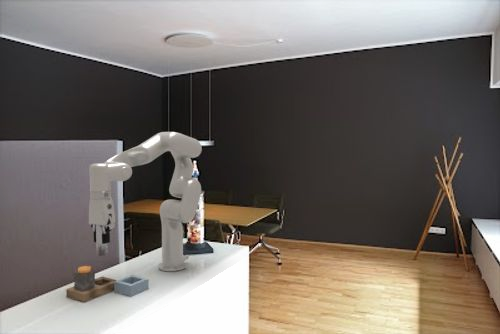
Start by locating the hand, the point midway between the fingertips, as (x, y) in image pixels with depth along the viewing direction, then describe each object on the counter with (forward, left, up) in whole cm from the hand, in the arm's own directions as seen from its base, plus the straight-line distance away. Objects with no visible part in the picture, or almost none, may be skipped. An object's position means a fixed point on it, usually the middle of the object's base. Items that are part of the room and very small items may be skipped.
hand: (101, 241), depth 148 cm
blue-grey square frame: (-5, +10, -19) cm, 22 cm away
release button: (+8, 0, -16) cm, 17 cm away
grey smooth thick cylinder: (0, 0, -5) cm, 5 cm away
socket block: (+4, 0, -19) cm, 19 cm away
